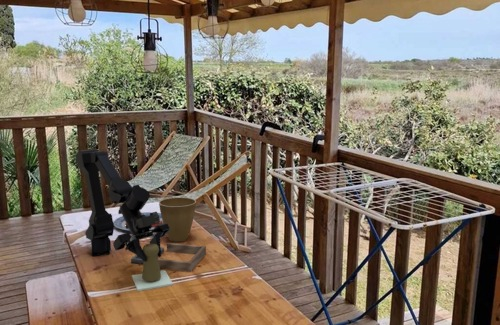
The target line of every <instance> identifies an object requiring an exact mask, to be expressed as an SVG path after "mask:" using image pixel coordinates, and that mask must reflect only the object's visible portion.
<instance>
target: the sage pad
mask: <svg viewBox="0 0 500 325" xmlns="http://www.w3.org/2000/svg"><path fill="white" fill-rule="evenodd" d="M160 274H161V277H160V278H159V279H157V280H154V281H146V280H143V279H142V273H140V274H139V273H138V274H132V275H131V278H132V280H133V283H134V285H135V289H136V290H137V292H141V291H147V290H152V289H158V288H164V287H169V286H173V281H172V279H171V277H169V275H168V273H167V271H166V269H163V270H160Z"/></svg>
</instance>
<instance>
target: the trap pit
mask: <svg viewBox="0 0 500 325" xmlns="http://www.w3.org/2000/svg"><path fill="white" fill-rule="evenodd" d="M160 247H161V246H160ZM164 252H165V247H161V255H162V254H164ZM157 256H158V255H157ZM158 258H160V257H159V256H158ZM143 263H144V261H143V260H142V259H141V258H139V257H138V256H137V255H135V254H134V256H132V257H131V258H130V264H135V265H143Z"/></svg>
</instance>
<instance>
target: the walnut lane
mask: <svg viewBox="0 0 500 325" xmlns="http://www.w3.org/2000/svg"><path fill="white" fill-rule="evenodd" d="M166 252H169V253H170V252H171V253H178V254H181V253H182V254H189V255H190V254H191V255H193V256H192V257H191V258H190V260H189V261H184V260H183V261H182V260H176V259H165V258H158V262H159V268H160V270H161V269H163V270H170V271H171V270H173V271H180V272H181V271H182V272H190V273H191V272H192V271H193V270H195V269H194V268H196V266H197V265H198V264H199V263H200V262H201V261H202V259H203V258H205V256H206V254H207V246H205V245H195V244H194V245H193V244H186V243H183V244H182V243H176V242H174V243H173V242H167V243H166Z"/></svg>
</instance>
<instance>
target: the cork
mask: <svg viewBox="0 0 500 325" xmlns="http://www.w3.org/2000/svg"><path fill="white" fill-rule="evenodd" d="M142 250H143V252H144V254H145V256H146V258H147V261H146V262H145V261H144V263H143V264H142V273H141V274H142V279H143V280H146V281H154V280H157V279H159V278H160V277H161V274H160V271H161V268H159V262H158V259H159V257H158V256H157V254H158V252H159V247H158V245H156V244H150V243H147V244H145V245H143V247H142Z"/></svg>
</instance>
